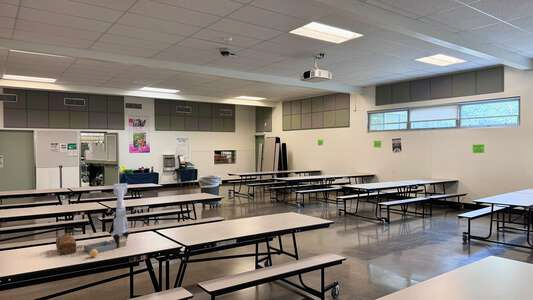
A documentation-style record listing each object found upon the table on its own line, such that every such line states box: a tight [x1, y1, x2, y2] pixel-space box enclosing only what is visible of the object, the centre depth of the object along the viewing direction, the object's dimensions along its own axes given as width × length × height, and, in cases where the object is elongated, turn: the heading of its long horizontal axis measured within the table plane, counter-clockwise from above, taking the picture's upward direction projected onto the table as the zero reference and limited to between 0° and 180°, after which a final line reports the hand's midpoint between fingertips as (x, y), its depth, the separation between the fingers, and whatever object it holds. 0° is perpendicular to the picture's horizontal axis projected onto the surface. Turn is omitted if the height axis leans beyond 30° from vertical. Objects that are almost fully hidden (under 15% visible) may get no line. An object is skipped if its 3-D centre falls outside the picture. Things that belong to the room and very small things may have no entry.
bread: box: [55, 234, 77, 256], centre depth 240 cm, size 19×11×10 cm, turn 37°
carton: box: [117, 235, 127, 248], centre depth 252 cm, size 5×5×7 cm
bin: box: [83, 240, 118, 254], centre depth 244 cm, size 14×16×4 cm
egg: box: [88, 249, 99, 258], centre depth 227 cm, size 5×5×5 cm
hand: (120, 243), depth 252 cm, fingers closed on carton, 5 cm apart
